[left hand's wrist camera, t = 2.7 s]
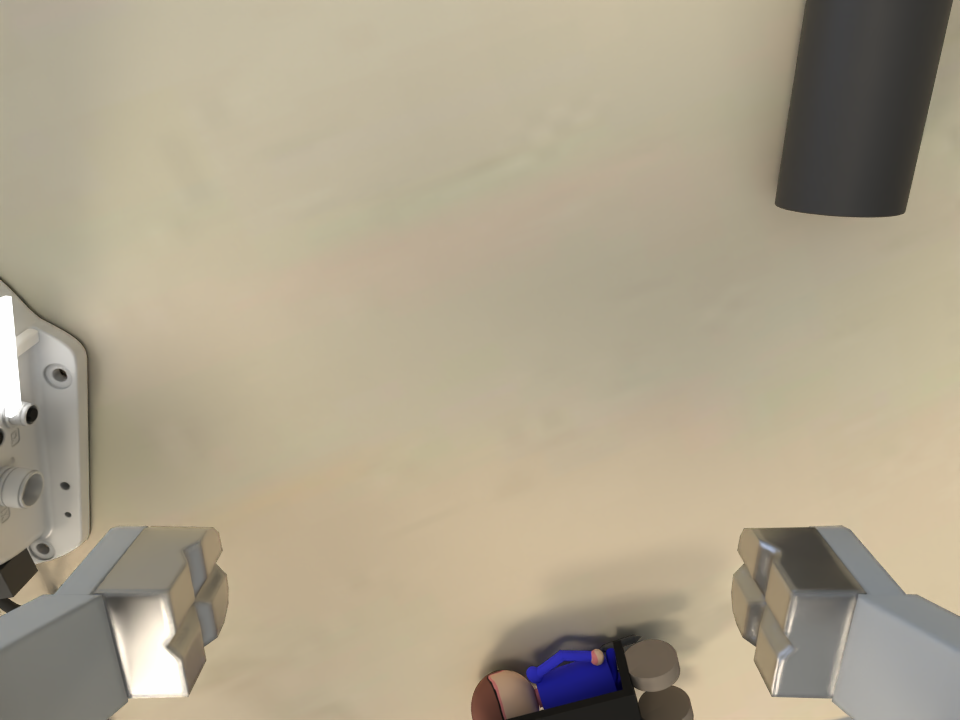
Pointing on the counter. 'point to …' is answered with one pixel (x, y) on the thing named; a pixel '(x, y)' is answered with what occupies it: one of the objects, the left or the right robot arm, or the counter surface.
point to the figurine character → (589, 686)
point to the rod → (860, 105)
